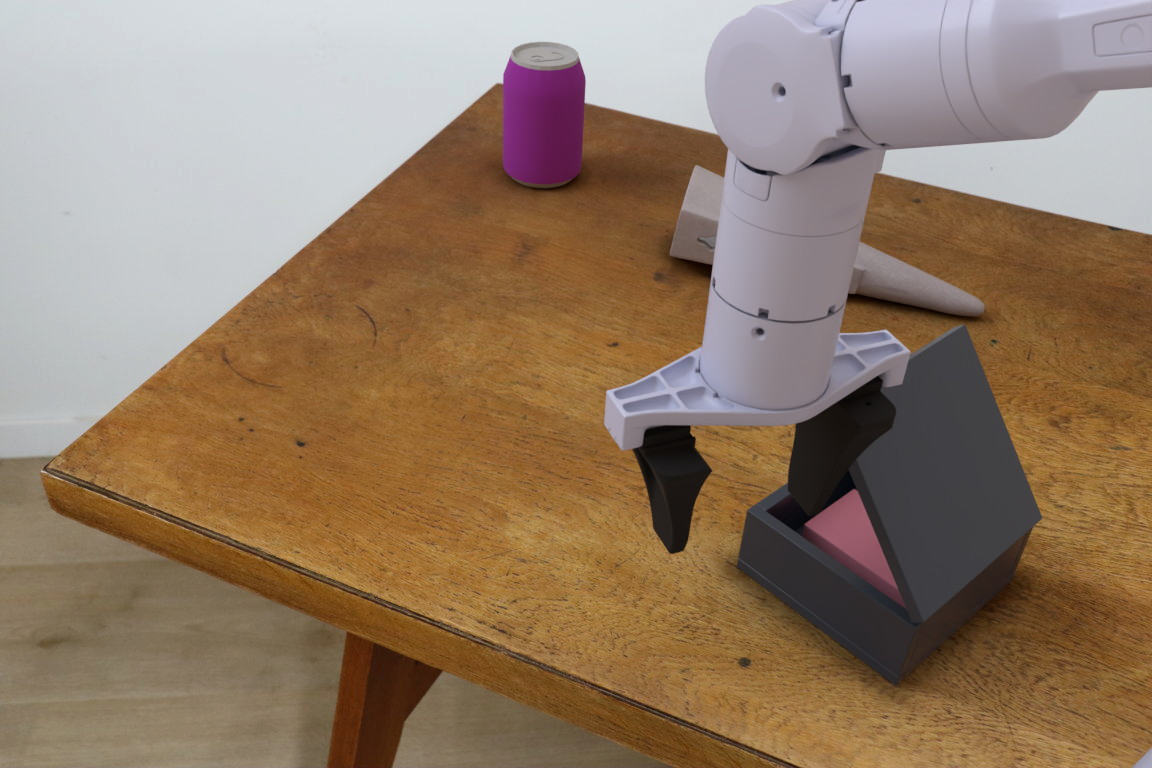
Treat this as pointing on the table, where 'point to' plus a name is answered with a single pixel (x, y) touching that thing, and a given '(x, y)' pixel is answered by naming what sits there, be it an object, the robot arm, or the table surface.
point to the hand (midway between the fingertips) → (737, 520)
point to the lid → (943, 477)
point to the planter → (871, 267)
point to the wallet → (852, 542)
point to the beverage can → (543, 114)
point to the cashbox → (854, 588)
